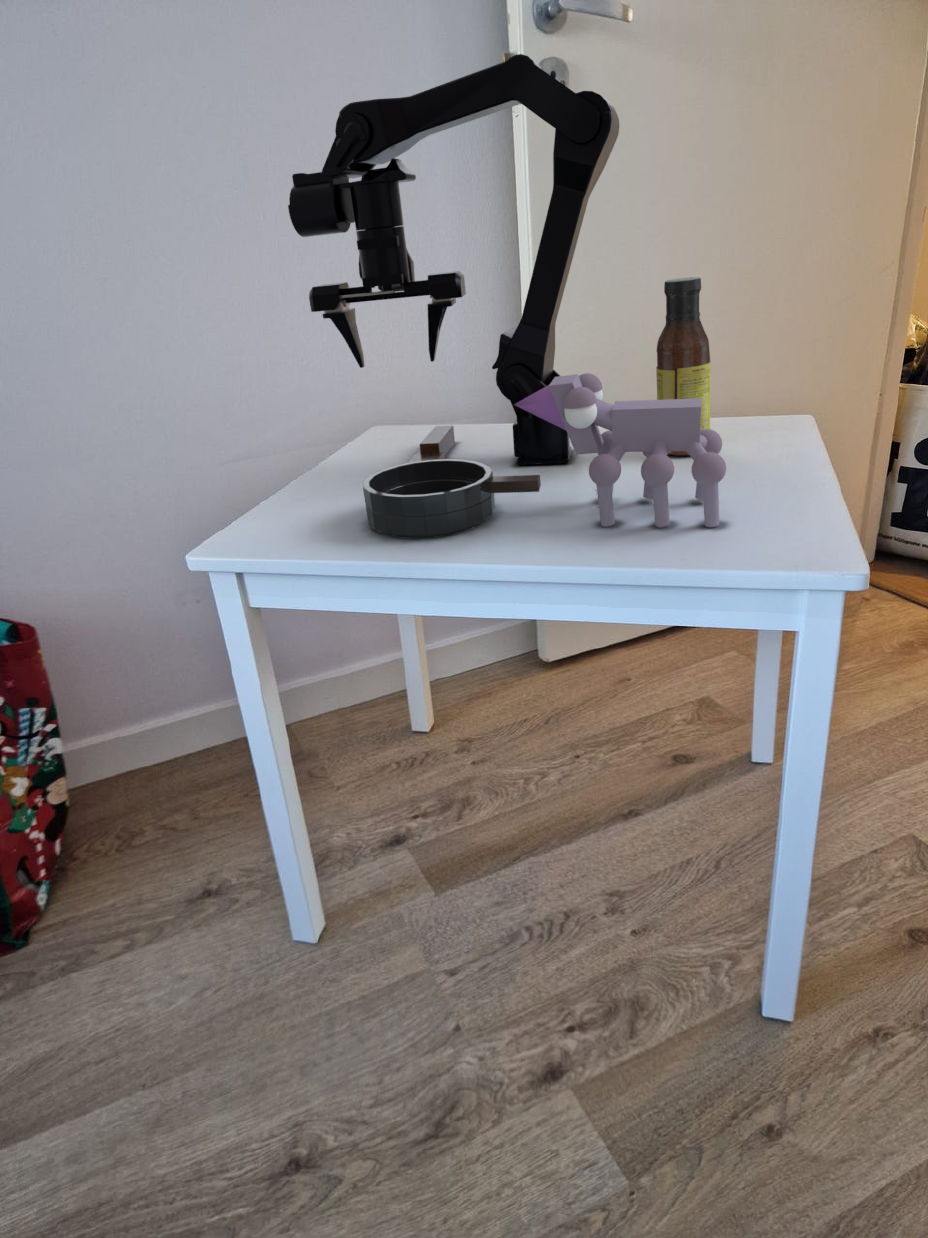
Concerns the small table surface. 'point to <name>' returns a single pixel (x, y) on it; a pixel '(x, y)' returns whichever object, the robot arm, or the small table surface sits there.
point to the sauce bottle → (684, 349)
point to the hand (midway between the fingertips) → (397, 363)
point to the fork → (435, 444)
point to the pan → (429, 498)
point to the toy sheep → (633, 441)
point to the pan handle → (515, 484)
